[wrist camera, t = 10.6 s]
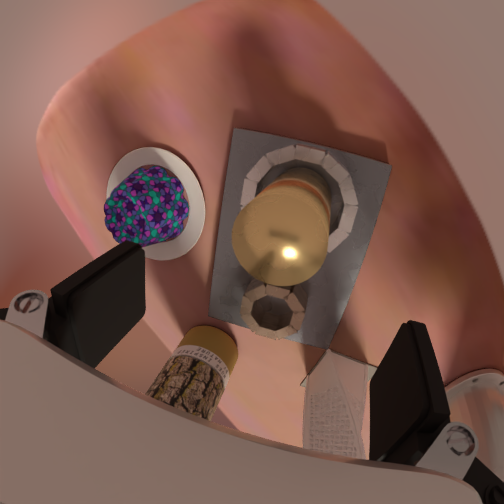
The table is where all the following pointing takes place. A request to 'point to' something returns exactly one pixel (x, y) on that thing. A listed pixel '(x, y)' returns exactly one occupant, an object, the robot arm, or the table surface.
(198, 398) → the paper tube
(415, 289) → the table surface
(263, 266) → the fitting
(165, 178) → the pudding
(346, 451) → the skyscraper
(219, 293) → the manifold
